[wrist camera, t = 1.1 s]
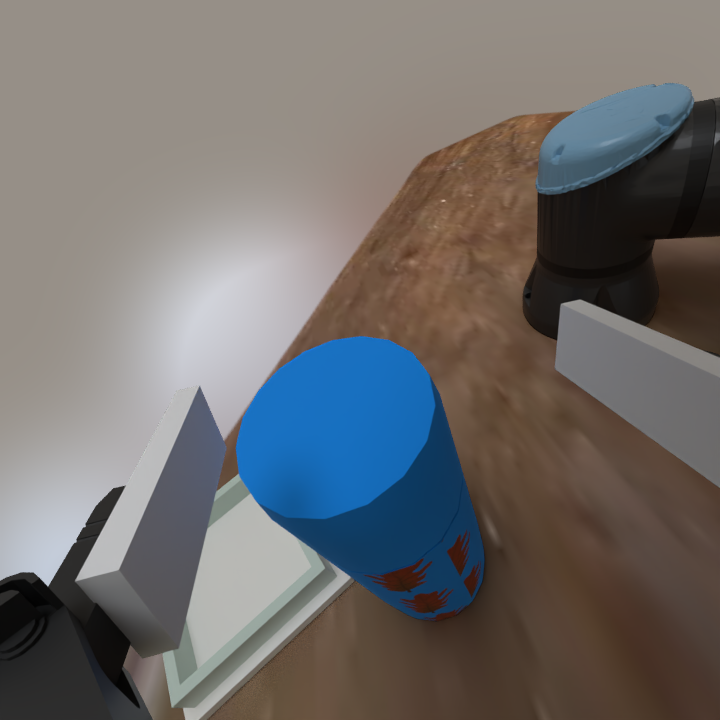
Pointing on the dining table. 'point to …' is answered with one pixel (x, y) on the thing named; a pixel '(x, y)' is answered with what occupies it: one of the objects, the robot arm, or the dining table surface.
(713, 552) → the dining table surface
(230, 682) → the holder
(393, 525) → the leaf-print tea canister
